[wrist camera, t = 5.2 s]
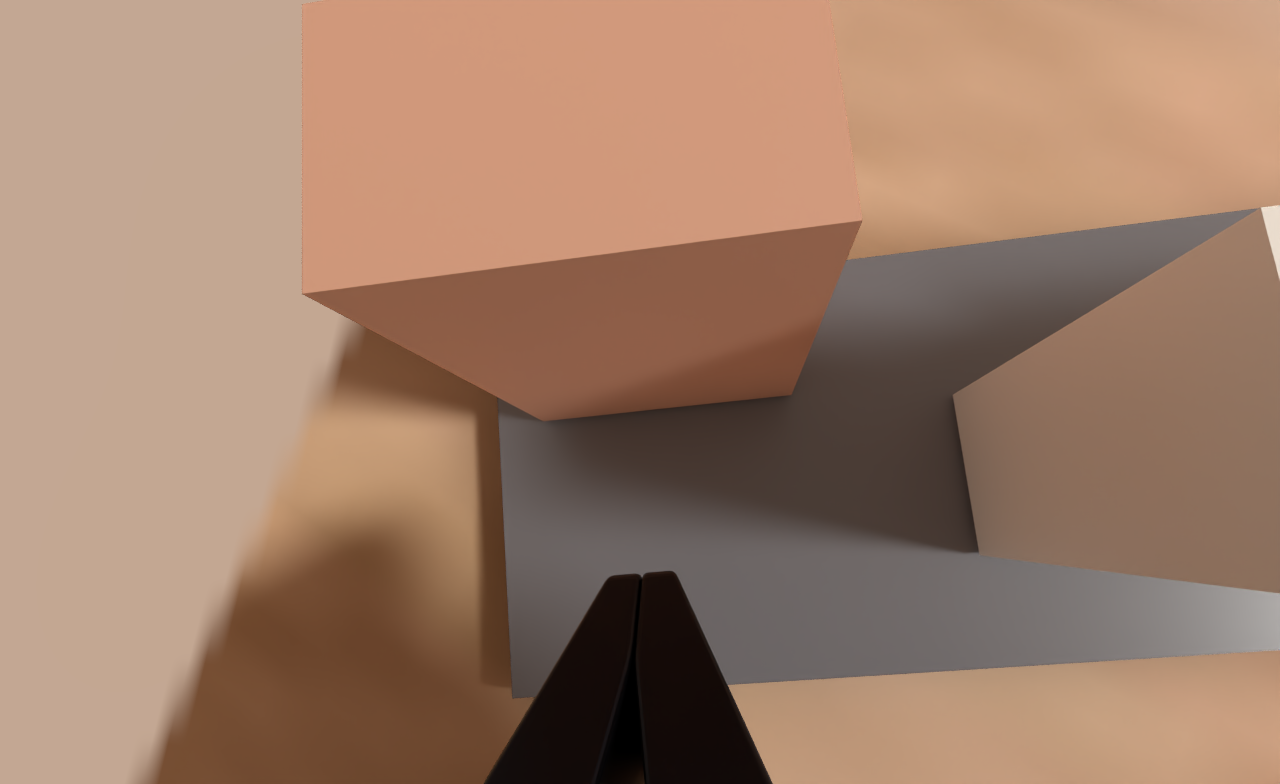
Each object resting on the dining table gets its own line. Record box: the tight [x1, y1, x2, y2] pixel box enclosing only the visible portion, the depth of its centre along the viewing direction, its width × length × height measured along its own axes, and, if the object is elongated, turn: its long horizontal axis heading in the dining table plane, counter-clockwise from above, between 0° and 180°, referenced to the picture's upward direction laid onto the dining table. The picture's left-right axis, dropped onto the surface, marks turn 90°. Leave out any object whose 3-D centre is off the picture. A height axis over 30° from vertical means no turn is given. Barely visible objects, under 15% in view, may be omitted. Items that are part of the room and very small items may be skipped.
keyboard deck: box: [497, 208, 1280, 698], centre depth 14 cm, size 8×23×1 cm, turn 95°
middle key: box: [953, 205, 1280, 594], centre depth 9 cm, size 3×5×8 cm, turn 95°
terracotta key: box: [302, 0, 862, 421], centre depth 11 cm, size 3×5×8 cm, turn 95°
